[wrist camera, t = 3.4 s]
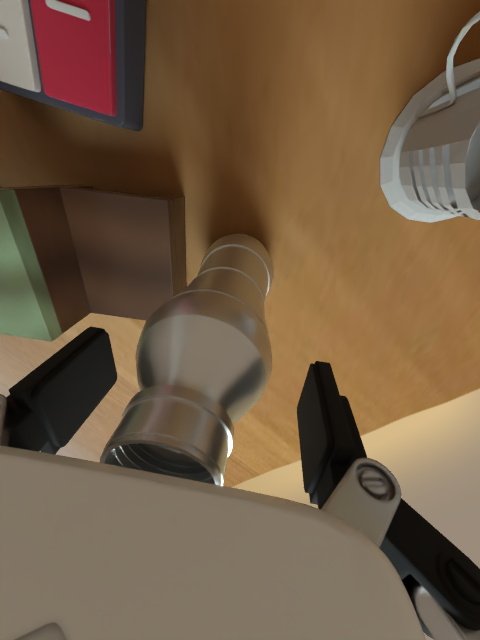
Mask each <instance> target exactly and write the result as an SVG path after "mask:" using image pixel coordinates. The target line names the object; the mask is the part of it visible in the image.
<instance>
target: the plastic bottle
mask: <svg viewBox="0 0 480 640" xmlns="http://www.w3.org/2000/svg"><path fill="white" fill-rule="evenodd" d="M273 271H274V269H273V263H272V260H271V257H270V255H269V253H268V252H267V250H266V249H265V247H264V246H263V245H262V244H261V243H260V242H259V241H258V240H256V239H255V238H253V237H251V236H249V235H245V234H232V235H227V236H224V237H222V238H220V239H218V240H217V241H215V242H214V243H213V244H212V245H211V246H210V247H209V248H208V250H207V252H206V254H205V256H204V258H203V261H202V264H201V268H200V271H199V273H198V275H197V277H196V278H195V279H194V280H193V281H192V282H191V283H190V284H189V285H188V287H186V288H185V289H184V290H182V291H181V292H180V293H178V294H177V295H175V296H174V297H173V298H171V299H170V300H168V301H167V302H166V303H164V304H163V305H162V306H161V307H160V308H159V309H158V310H156V311H155V312H154V313H153V314H152V315H151V317H150V318H149V319H148V320H147V322H146V323H145V325H144V328H143V330H142V332H141V335H140V339H139V342H138V345H137V351H136V368H137V378H138V385H139V388H140V392H138V393H137V394H136V395H135V396H134V397H133V398H132V399H131V401H130V402H129V404H128V405H127V407H126V408H125V410H124V412H123V414H122V419H121V422H120V424H119V425H118V427H117V429H116V430H115V432H114V433H113V435H112V436H111V438H110V439H109V441H108V443H107V444H106V446H105V448H104V451H103V453H102V455H101V457H100V463H104V464H109V465H115V466H120V467H125V468H131V469H136V470H142V471H147V472H152V473H157V474H163V475H168V476H173V477H179V478H184V479H189V480H194V481H199V482H205V483H210V484H215V485H220V486H223V482H224V475H225V469H226V463H227V458H228V456H229V454H230V453H231V449H232V445H233V439H234V426H233V424H234V423H235V422H237V421H238V420H240V419H241V418H242V417H243V416H244V415H245V414H246V413H247V412H248V411H249V410H250V409H251V408H252V407H253V406H254V405H255V404H256V403H257V402H258V401H259V399H260V397H261V396H262V394H263V392H264V390H265V388H266V385H267V383H268V381H269V378H270V374H271V371H272V353H271V344H270V339H269V335H268V331H267V326H266V321H265V310H264V302H265V298H266V296H267V294H268V292H269V290H270V287H271V284H272V280H273Z"/></svg>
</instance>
